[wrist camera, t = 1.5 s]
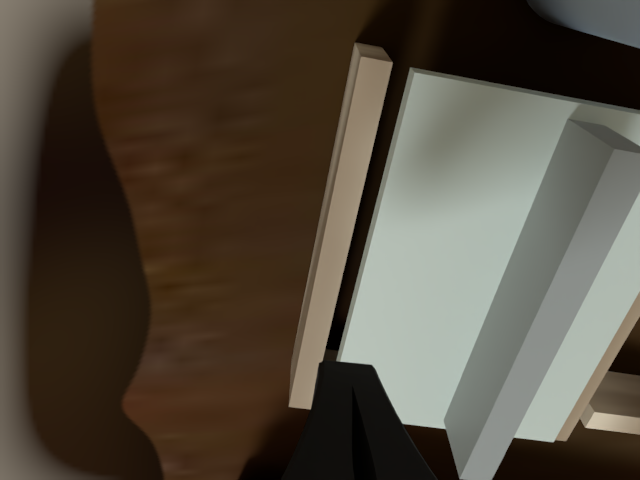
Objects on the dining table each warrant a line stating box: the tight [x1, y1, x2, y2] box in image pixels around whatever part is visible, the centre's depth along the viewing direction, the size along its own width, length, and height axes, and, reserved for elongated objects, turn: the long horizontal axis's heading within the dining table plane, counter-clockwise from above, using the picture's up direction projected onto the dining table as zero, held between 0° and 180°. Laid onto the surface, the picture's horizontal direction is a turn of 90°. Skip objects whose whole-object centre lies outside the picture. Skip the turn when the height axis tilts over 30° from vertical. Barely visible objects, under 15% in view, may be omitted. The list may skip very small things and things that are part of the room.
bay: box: [289, 42, 640, 441], centre depth 22 cm, size 20×15×3 cm
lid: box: [336, 67, 640, 480], centre depth 18 cm, size 10×14×4 cm
